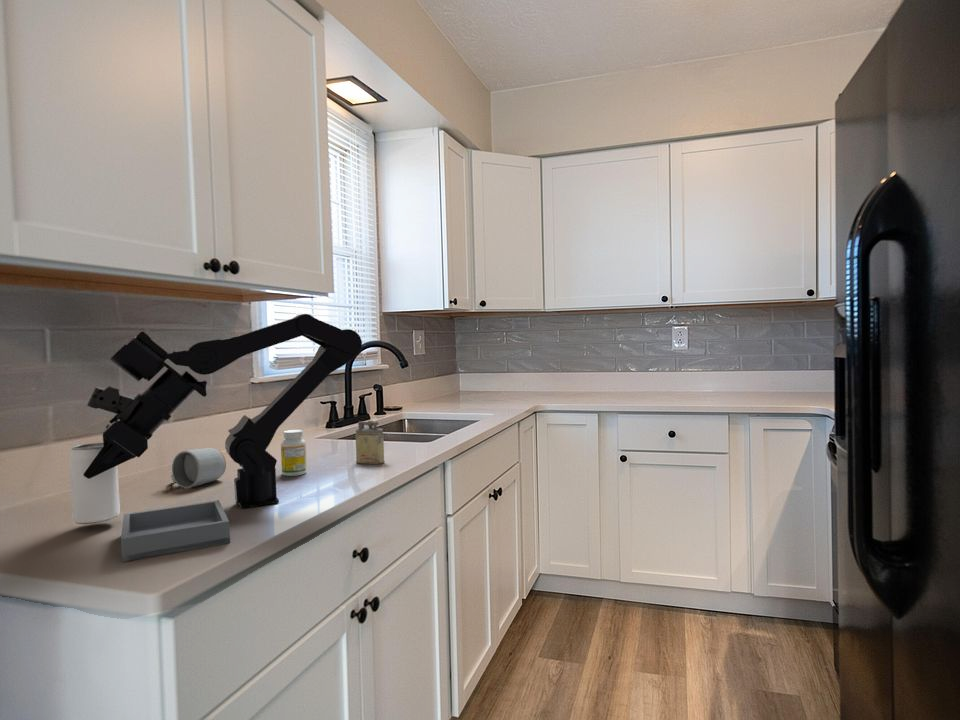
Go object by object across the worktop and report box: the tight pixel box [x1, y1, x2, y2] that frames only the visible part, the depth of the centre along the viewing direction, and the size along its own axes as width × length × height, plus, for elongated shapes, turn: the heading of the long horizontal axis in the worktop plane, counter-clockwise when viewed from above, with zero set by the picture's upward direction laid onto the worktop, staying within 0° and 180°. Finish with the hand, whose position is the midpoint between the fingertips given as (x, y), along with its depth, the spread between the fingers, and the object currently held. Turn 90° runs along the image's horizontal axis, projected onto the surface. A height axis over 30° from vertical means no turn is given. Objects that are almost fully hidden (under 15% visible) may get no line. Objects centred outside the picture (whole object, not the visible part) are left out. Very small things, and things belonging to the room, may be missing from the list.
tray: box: [120, 500, 231, 563], centre depth 88 cm, size 14×14×3 cm
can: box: [68, 442, 121, 525], centre depth 95 cm, size 6×6×12 cm
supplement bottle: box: [280, 429, 308, 477], centre depth 130 cm, size 5×5×10 cm
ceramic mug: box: [170, 447, 227, 489], centre depth 123 cm, size 11×8×8 cm
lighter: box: [355, 420, 385, 465], centre depth 140 cm, size 7×4×10 cm, turn 74°
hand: (87, 473), depth 94 cm, fingers closed on can, 6 cm apart
